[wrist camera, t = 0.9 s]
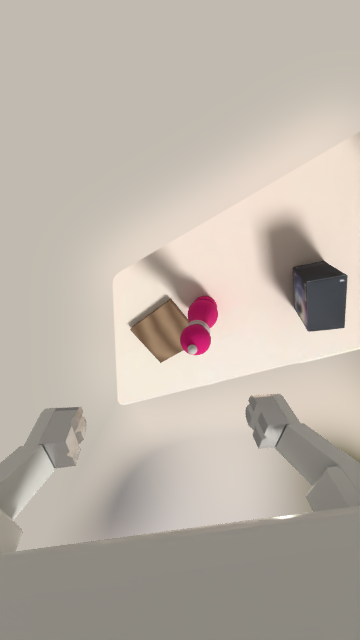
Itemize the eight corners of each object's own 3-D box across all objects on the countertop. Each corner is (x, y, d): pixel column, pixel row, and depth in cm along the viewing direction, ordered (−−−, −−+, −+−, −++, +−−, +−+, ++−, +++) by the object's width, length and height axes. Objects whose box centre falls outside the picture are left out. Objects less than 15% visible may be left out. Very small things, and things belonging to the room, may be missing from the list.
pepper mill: (189, 294, 53) (168, 335, 36) (217, 293, 51) (210, 334, 34) (192, 319, 56) (175, 367, 39) (219, 319, 54) (213, 369, 37)
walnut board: (171, 298, 55) (169, 300, 53) (202, 337, 58) (201, 339, 57) (132, 327, 62) (130, 329, 61) (162, 359, 65) (160, 362, 64)
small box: (290, 267, 45) (305, 281, 36) (325, 259, 43) (349, 272, 34) (293, 310, 49) (306, 333, 40) (324, 306, 47) (346, 328, 38)
